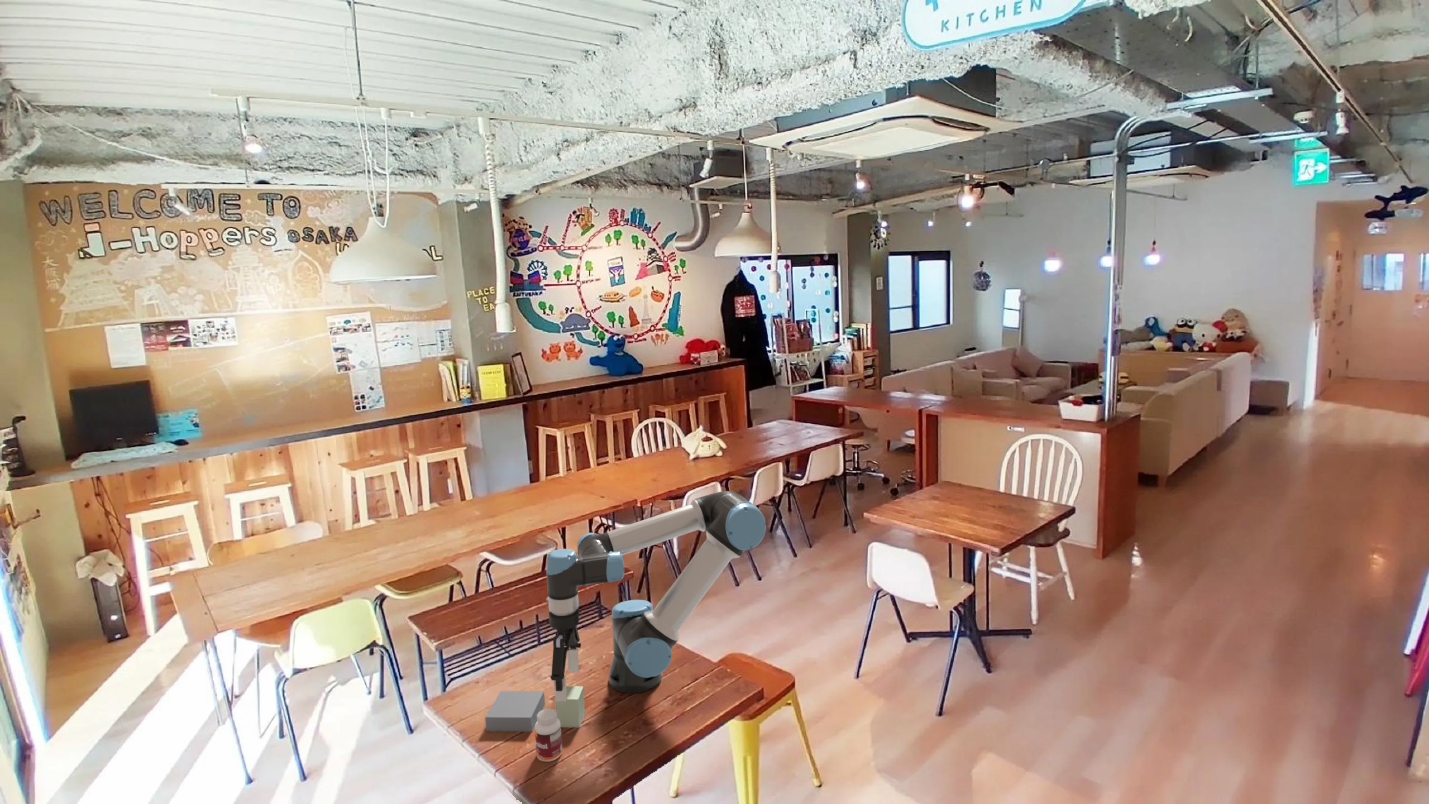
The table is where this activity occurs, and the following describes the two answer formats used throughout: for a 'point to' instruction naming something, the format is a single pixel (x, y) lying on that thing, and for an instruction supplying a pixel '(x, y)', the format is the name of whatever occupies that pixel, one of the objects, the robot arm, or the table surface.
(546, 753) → the pill bottle
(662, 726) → the table surface
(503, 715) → the slate block
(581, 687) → the sage block
